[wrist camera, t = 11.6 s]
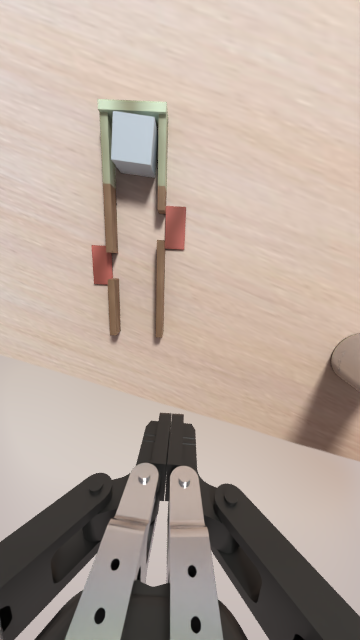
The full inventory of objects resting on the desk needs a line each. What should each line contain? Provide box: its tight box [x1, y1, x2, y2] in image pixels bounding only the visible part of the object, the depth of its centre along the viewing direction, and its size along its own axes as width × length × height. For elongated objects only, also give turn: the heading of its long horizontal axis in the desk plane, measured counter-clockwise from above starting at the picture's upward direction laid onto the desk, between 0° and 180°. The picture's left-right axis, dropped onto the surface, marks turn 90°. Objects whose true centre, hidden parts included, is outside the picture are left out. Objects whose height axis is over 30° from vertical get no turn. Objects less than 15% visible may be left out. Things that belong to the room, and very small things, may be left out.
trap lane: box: [92, 99, 186, 337], centre depth 32 cm, size 14×31×3 cm, turn 178°
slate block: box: [111, 111, 158, 178], centre depth 28 cm, size 5×5×4 cm
